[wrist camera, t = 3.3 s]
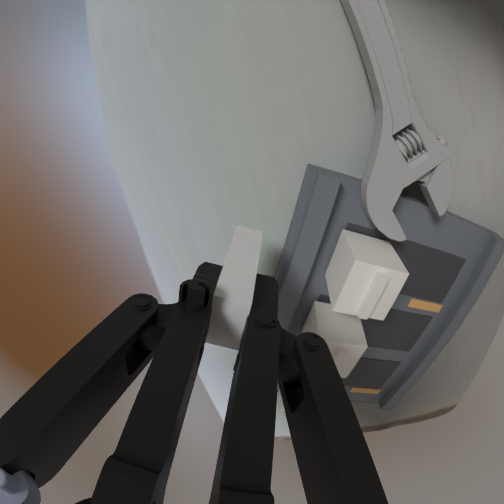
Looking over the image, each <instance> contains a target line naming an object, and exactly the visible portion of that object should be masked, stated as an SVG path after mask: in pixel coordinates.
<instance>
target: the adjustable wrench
mask: <svg viewBox="0 0 504 504" xmlns="http://www.w3.org/2000/svg"><path fill="white" fill-rule="evenodd" d="M341 2H342V5H343V7H344V9H345V12H346V14H347V17H348V19H349V22H350V25H351V27H352V30H353V33H354V35H355V38H356V41H357V44H358V47H359V50H360V53H361V56H362V59H363V62H364V65H365V69H366V72H367V75H368V79H369V82H370V86H371V89H372V93H373V97H374V103H375V109H376V116H375V128H374V135H373V141H372V146H371V150H370V155H369V158H368V161H367V165H366V168H365V171H364V174H363V178H362V181H361V201H362V205H363V208H364V210H365V212H366V214H367V216H368V217H369V219H370V220H371V221H372V222H373V224H374V225H375V226H376V227H377V228H378V230H379V231H381V232H382V233H383V234H384V235H386V236H387V237H388V238H390V239H393V240H396V241H399V242H400V241H404V240H406V239H407V238H406V236H405V234H404V232H403V230H402V228H401V226H400V224H399V222H398V220H397V219H396V217H395V215H394V213H393V211H392V210H393V208H394V206H395V204H396V202H397V200H398V198H399V196H400V194H401V192H402V190H403V188H405V187H407V186H408V185H410V184H411V183H413V182H414V181H418V184H419V186H420V188H421V190H422V193H423V195H424V197H425V199H426V201H427V203H428V206H429V208H430V210H431V211H432V212H434V213H435V214H437V215H438V216H439V217H440V216H442V215H443V214H444V213H445V212H446V210H447V207H448V204H449V201H450V198H451V193H452V184H453V179H452V167H451V161H450V156H451V155H453V154H454V152H453V151H452V149H450V148H448V147H446V146H447V143H446V141H445V139H444V138H443V137H442V136H439V137H437V138H436V137H435V135H434V134H433V133H432V131H431V130H430V129H429V128H428V126H427V125H426V124H425V122H424V120H423V119H422V117H421V115H420V113H419V110H418V108H417V106H416V103H415V99H414V96H413V93H412V88H411V84H410V80H409V76H408V72H407V68H406V64H405V60H404V57H403V53H402V50H401V46H400V43H399V40H398V37H397V34H396V31H395V28H394V25H393V22H392V19H391V16H390V14H389V11H388V8H387V6H386V3H385V1H384V0H341ZM404 127H407V128H405V129H403V128H404ZM401 129H403V130H402V132H401V131H400V130H401ZM398 131H400V132H398ZM397 132H398V134H397V135H396V134H395V133H397ZM394 134H395V135H394ZM392 135H393V136H392Z"/></svg>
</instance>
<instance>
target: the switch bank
mask: <svg viewBox="0 0 504 504" xmlns="http://www.w3.org/2000/svg"><path fill="white" fill-rule="evenodd" d="M361 181H362V180H361V179H358V178H354V177H351V176H348V175H345V174H341V173H338V172H335V171H331V170H328V169H324V168H321V167H317V166H314V165H310V164H308V165H307V168H306V172H305V175H304V179H303V183H302V186H301V190H300V193H299V197H298V200H297V204H296V207H295V211H294V214H293V217H292V221H291V224H290V228H289V231H288V234H287V238H286V241H285V244H284V248H283V251H282V254H281V258H280V261H279V264H278V268H277V271H276V274H275V277H274V278H275V279H276V280H277V282H278V284H279V292H278V317H277V318H278V320H279V322H280V325H281V327H282V328H283V329H285V330H286V331H288V332H289V333H291V334H293V335H296V336H298V335H299V334H300V333H301V331H302V329H303V326H304V324H305V322H306V320H307V317H308V315H309V313H310V311H311V308H312V306H313V304H314V301H318V302H323V303H328V304H331V302H330V297H329V292H328V287H327V281H326V277H325V273H326V271H327V268H328V266H329V263H330V261H331V258H332V256H333V253H334V250H335V248H336V245H337V243H338V240H339V237H340V234H341V232H342V229H344V230H348V231H352V232H355V233H359V234H363V235H366V236H370V237H373V238H377V239H380V240H384V241H387V242H390V244H391V245H392V247H393V248H394V250H395V251H396V253H397V255H398V256H399V258H400V259H401V261H402V263H403V264H404V266H405V267H406V269H407V271H408V272H409V275H408V277H407V279H406V281H405V283H404V285H403V287H402V289H401V291H400V292H399V294H398V296H397V298H396V300H395V301H394V303H393V305H392V307H391V309H390V310H389V312H388V314H387V315H386V317H385V319H384V320H377V319H372V318H368V319H367V320H366V319H361V323H362V327H363V330H364V334H365V338H366V342H367V345H368V347H367V349H366V350H365V352H364V353H363V355H362V356H361V358H360V359H359V361H358V362H357V363H356V365H355V366H354V368H353V369H352V371H351V372H350V374H349V375H348V376H347V378H341V379H342V382H343V384H344V387H345V389H346V392H347V394H348V397H349V399H350V401H363V402H379V403H380V408H381V409H391V408H392V407H393V406H394V405H395V404H396V403H397V402H398V401H399V400H400V399H401V398H402V397H403V396H404V395H405V394H406V393H407V392H408V390H409V389H410V388H411V387H412V386H413V385H414V384H415V383H416V382H417V380H418V379H419V378H420V377H421V376H422V375H423V373H424V372H425V371H426V370H427V369H428V367H429V366H430V365H431V364H432V362H433V361H434V360H435V359H436V357H437V356H438V355H439V354H440V352H441V351H442V350H443V348H444V347H445V346H446V344H447V343H448V342H449V340H450V339H451V338H452V336H453V335H454V333H455V332H456V331H457V329H458V328H459V326H460V325H461V323H462V322H463V321H464V319H465V318H466V316H467V315H468V313H469V311H470V310H471V308H472V307H473V305H474V304H475V302H476V300H477V299H478V297H479V295H480V294H481V292H482V290H483V289H484V287H485V285H486V284H487V282H488V280H489V278H490V276H491V275H492V273H493V271H494V269H495V267H496V265H497V263H498V261H499V259H500V258H501V256H502V254H503V251H504V240H503V239H502V238H501V237H500V236H499V235H498V234H496V233H494V232H492V231H490V230H488V229H486V228H484V227H482V226H480V225H477V224H475V223H473V222H471V221H469V220H466V219H464V218H462V217H459V216H457V215H455V214H452V213H450V212H448V211H446V212H445V213H444V214H443V215H442V216H440V217H439V216H438V215H437V214H435V213H434V212H432V211H431V210H430V208H429V206H428V203H425V202H423V201H420V200H418V199H415V198H412V197H410V196H407V195H404V194H402V193H401V194H400V196H399V198H398V200H397V202H396V204H395V206H394V208H393V210H392V211H393V213H394V215H395V217H396V219H397V220H398V222H399V224H400V226H401V228H402V230H403V232H404V234H405V236H406V238H407V239H406V240H404V241H400V242H399V241H396V240H393V239H390V238H388V237H387V236H386V235H384V234H383V233H382V232H381V231H379V230H378V228H377V227H376V226H375V225H374V224H373V222H372V221H371V220H370V219H369V217H368V216H367V214H366V212H365V210H364V208H363V205H362V201H361ZM277 392H279V385H277Z"/></svg>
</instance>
